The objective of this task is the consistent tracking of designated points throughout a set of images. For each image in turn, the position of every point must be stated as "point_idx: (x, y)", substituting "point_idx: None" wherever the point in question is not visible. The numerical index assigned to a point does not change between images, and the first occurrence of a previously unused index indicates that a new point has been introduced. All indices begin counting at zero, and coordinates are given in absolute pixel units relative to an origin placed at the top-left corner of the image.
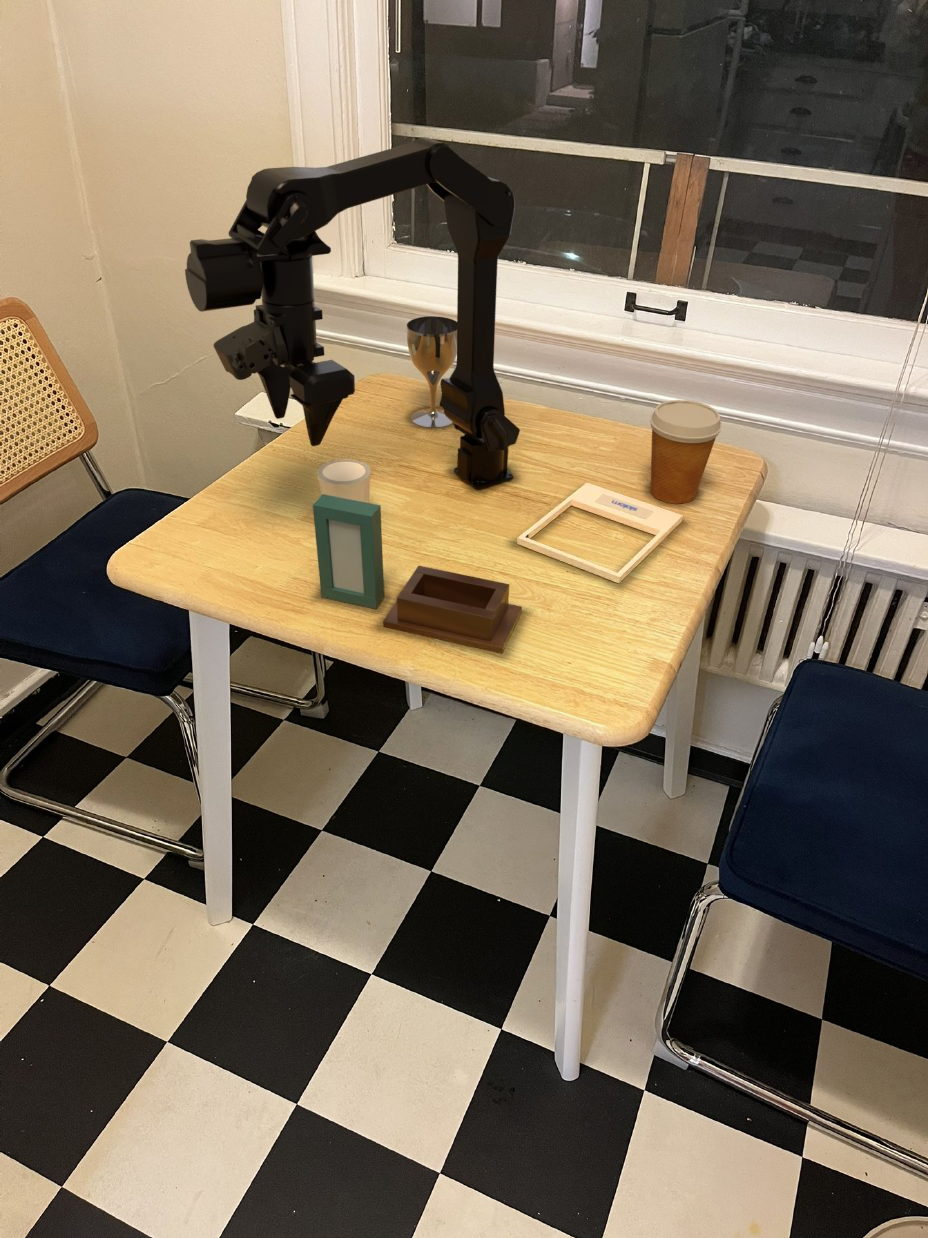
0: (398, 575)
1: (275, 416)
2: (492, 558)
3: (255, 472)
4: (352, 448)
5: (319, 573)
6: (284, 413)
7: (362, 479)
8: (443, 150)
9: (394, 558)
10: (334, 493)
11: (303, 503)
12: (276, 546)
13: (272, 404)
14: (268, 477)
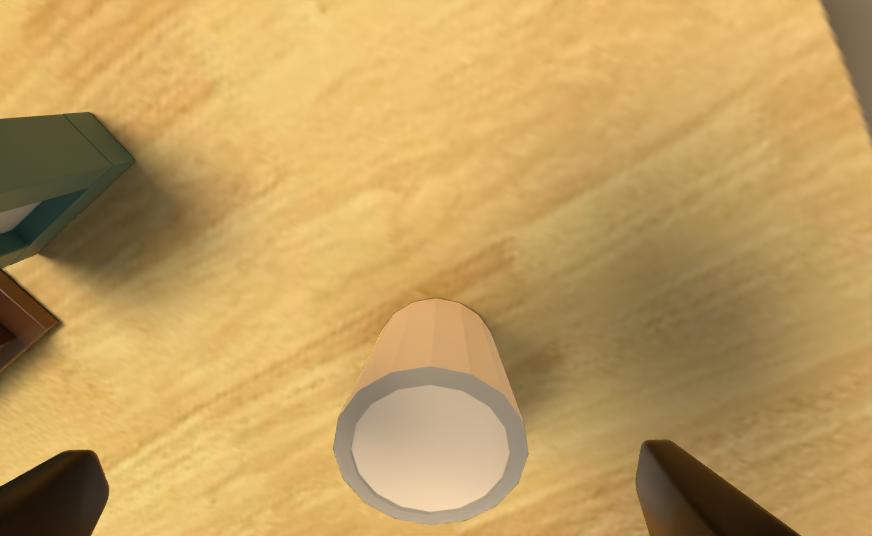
0: (121, 327)
1: (661, 444)
2: (114, 513)
3: (847, 251)
4: None
5: (19, 117)
6: (644, 511)
7: (343, 471)
8: None
9: (197, 355)
10: (374, 365)
11: (577, 290)
12: (401, 116)
13: (712, 523)
14: (788, 272)
